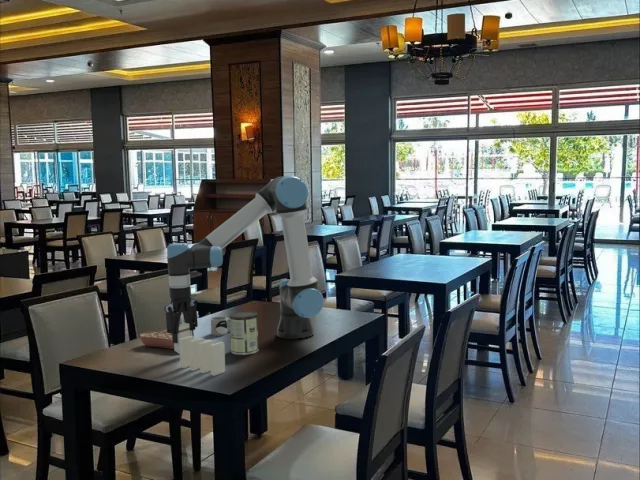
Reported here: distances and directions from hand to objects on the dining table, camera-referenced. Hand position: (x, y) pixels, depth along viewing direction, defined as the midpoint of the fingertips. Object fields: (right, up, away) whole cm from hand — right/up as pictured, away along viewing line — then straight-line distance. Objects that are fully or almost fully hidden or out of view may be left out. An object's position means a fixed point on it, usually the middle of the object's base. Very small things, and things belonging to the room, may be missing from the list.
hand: (183, 349), depth 229 cm
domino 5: (+16, -4, -21) cm, 27 cm away
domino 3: (+8, -4, -15) cm, 17 cm away
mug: (+9, +1, +34) cm, 35 cm away
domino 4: (+12, -4, -18) cm, 22 cm away
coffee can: (+21, -2, +5) cm, 22 cm away
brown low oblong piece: (-9, -2, +13) cm, 16 cm away
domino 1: (0, -1, 0) cm, 1 cm away
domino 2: (+4, -4, -12) cm, 13 cm away
